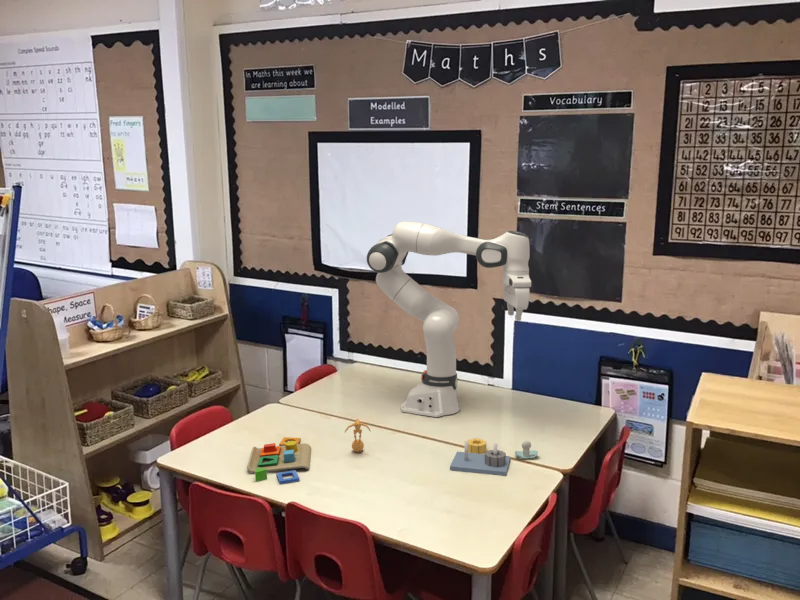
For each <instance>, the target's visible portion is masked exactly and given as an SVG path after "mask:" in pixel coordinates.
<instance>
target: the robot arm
mask: <svg viewBox="0 0 800 600" xmlns="http://www.w3.org/2000/svg"><path fill="white" fill-rule="evenodd" d="M409 252H410V253H414V254H419V255H423V256H440V255H441V256H442V255H446V254H447V255H448V254H452V253H458V254H459V253H461V254H466V255H471V256H475V259H476V261H477V262H478V264H479V265H480V266H481V267H483V268H487V269H494V268H498V267H502V284H503V290H502V291H503V293H502V298H503V300H504V302H506V306H507V315H509V316H514V320H515V321H518V322H521V321H522V315H523V312H524V310H527V309H528V307H529V304H530V303H529V302H530V294H531V293H530V288H531V287H532V280H531V278H530V267H529V260H530V254H531V253H530V239H529V237H528V235H527V234H525V233H524V232H521V231H516V230H508V231H506V232H505V233H503V234H501V235H499V236H496V237H492V238H487V239H486V238H480V237H474V236H473V237H472V236H467V235H463V234H460V233H455V232H454V231H453V232H452V231H450V230H447V229H444V228H442V227H438V226H435V225H432V224H429V223H423V222H418V221H400V222H397V224H396V225H395V226H394V228H393V230H392V233H391V234H389V235H387V236H385V237H383V238H382V239H380V240H379V241H378V242H377V243H376V244H374V245H373V246H372V247H370V249H369V250H368V252H367V254H366V263H367V265H368V267H369V269H371V271H373V272H375V273H377V274H376V275H375V276H376V277H375V283H376V284H377V286H378V287H379V289H380V290H381V291H382V292H383V293H384V295H386V296H387V297H388V298H389V299H390V300H391V301H393V302H394V303H395V304H396V305H397V306H398V307H399V308H401V310H403V311H404V312H405V313H406V314H408V315H409V316H412V317H414V318H415V319H418V320H419V321H421V322H423V327H422V328H423V329H422V330H423V335H424V342H425V343H424V344H425V348H426V350H425V351H426V369H425V370H423V372H422V374H421V375H420V380H421V382H419V383H418V384H417V385H415V386H414V387H412V388H411V389H410V390H409V391H408V393H407V397H406V400H405V401H403V402H402V403H401V405H400V408H401V409H400V411H401V412H402V411H403V413H407V414H416V415H421V416H427V417H434V418H439V417H443V416H448V415H453V414H456V413H459V412H460V410H461V408H460V405H459V400H458V391H457V388H458V373H457V351H456V345H455V331H456V330H457V328H458V327H459V323H460V315H459V312H458V311H457V310H456V308H454V307H453V306H451V305H449V304H447V303H446V302H444V301H442V300H441V299H440V298H439V297H438V296H437V297H436V296H435V295H433V294H432V293H431V292H429V291H428V290H426V289H425V288H424V287H422V286H421V284H419V283H418V282H417V281H415V280H414V279H413V278H412V277H411V276H409V275H408V274H407V273H406V271H404V270H403V268H402V266H404V265H405V263H406V261H407V257H408V255H409ZM514 309H515V310H514Z"/></svg>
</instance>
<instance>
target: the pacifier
mask: <svg viewBox="0 0 800 600" xmlns="http://www.w3.org/2000/svg"><path fill="white" fill-rule="evenodd" d="M531 447H532V442H531V441H530V440H525V441H523V442H522V443H521V448H522V450H515V451H514V456H515V457H516V458H519V459H524V460H527V459H528V460H529V458H530V459H534V458H536V457H537V456H538V454H539V452H538V450H533V449H532V450H531Z"/></svg>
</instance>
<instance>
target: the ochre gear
mask: <svg viewBox="0 0 800 600" xmlns="http://www.w3.org/2000/svg"><path fill="white" fill-rule="evenodd" d="M467 441H468V453H477V454H485V452H487V441H486V440H484V439H481V438H469V439H468V440H467Z"/></svg>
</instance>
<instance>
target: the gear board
mask: <svg viewBox="0 0 800 600" xmlns="http://www.w3.org/2000/svg"><path fill="white" fill-rule="evenodd" d="M492 448H493V449H490V450H486V452H485V453H482V454H477V453H469V452H468V440H465V441H464V449H463V450H464V451H456V453H455V455H454V457H453V459H452V461H451V463H450V466H449V470H450V471H454V472H455V471H456V472H466V473H475V474H485V475H493V476H496V475H497V476H503V477H504V476H505V477H506V476H507V473H508V470H509V466H510V461H511V456H507V454H506V452H504V451H503V450H500V449H498V443H493V447H492Z"/></svg>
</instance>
